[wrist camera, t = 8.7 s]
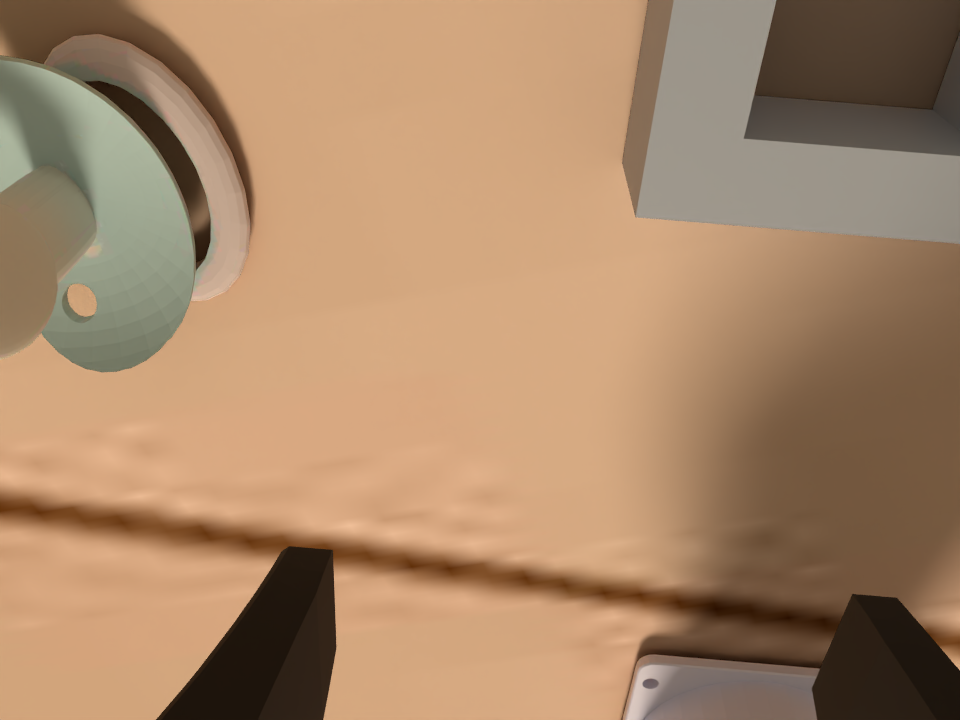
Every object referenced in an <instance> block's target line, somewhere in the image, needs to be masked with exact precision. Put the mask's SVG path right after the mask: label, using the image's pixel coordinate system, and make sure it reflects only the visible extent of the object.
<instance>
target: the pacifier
mask: <svg viewBox="0 0 960 720" xmlns="http://www.w3.org/2000/svg"><path fill="white" fill-rule="evenodd" d="M85 81H103V82H106V83H109V84H112V85H115V86H119V87H121V88H123V89H124V90H126V91H128V92H129V93H131V94H132V95H134V96H136V97H137V98H139V99H140V100H142V101H143V102H144V103H145V104H146V105H147V106H149V107H150V108H151V109H152V110H153V111H154V112H155V113H156V114H157V115H158V116H159V117H160V118H161V119H163V121H164V122H165V123H166V124H167V125H168V127H169V128H170V129H171V130H172V132H173V133H174V134H175V136H176V137H177V138H178V139H179V141H180V142H181V143H182V145H183V147H184V148H185V150H186V152H187V154H188V155H189V157H190V159H191V161H192V162H193V164H194V166H195V168H196V170H197V172H198V175H199V178H200V180H201V183H202V186H203V188H204V191H205V193H206V197H207V202H208V207H209V212H210V218H211V241H210V245H209V248H208V252H207V255H206V257H205V258H204V259H203V260H201V261H199V262H197V263H196V253H195V241H194V235H193V230H192V225H191V221H190V216H189V212H188V209H187V206H186V203H185V201H184V198H183V196H182V193H181V191H180V189H179V186H178V184H177V182H176V180H175V178H174V176H173V174H172V172H171V170H170V169H169V167H168V165H167V163H166V162H165V160H164V158H163V157H162V155H161V154H160V152H159V151H158V149H157V148H156V147H155V145H154V144H153V143H152V142H151V140H150V139H149V138H148V137H147V135H146V134H145V133H144V132H143V131H142V130H141V129H140V127H139V126H138V125H137V124H136V123H135V122H134V121H133V119H132V118H131V117H129V116H128V115H127V114H126V113H125V112H124V111H122V110H121V109H120V108H119V107H118V106H117V105H116V104H114V103H113V102H112V101H111V100H110V99H108V98H107V97H106V96H105V95H103V94H102V93H100V92H99V91H97V90H95V89H94V88H92V87H91V86H89V85H88V84H86V83H84V82H85ZM249 239H250V218H249V212H248V206H247V199H246V193H245V188H244V185H243V182H242V180H241V177H240V174H239V171H238V168H237V166H236V163H235V160H234V157H233V154H232V152H231V150H230V149H229V147H228V145H227V143H226V141H225V139H224V138H223V136H222V134H221V132H220V130H219V128H218V127H217V125H216V123H215V121H214V119H213V118H212V117H211V116H210V114H209V113H208V112H207V110H206V109H205V108H204V106H203V105H202V104H201V103H200V101H199V100H198V99H197V97H196V96H195V95H194V93H193V92H192V91H191V89H190V88H189V87H188V86H187V85H185V84H184V83H183V82H182V81H181V80H180V79H179V78H178V77H177V76H176V75H175V74H174V73H173V72H172V71H170V70H169V69H168V68H167V67H166V66H165V65H164V64H163V63H162V62H160V61H159V60H157V59H155V58H154V57H152V56H151V55H149V54H147V53H146V52H144V51H142V50H141V49H139V48H137V47H136V46H134V45H133V44H131V43H129V42H126V41H122V40H119V39H115V38H112V37H109V36H105V35H102V34H92V35H79V36H72V37H71V38H69V39H68V40H66V41H64V42H63V43H61V44H59V45H58V46H56V47H54V48H53V49H52V51H51V52H50V54H49V56H48V57H47V59H46V61H45V62H44V64H41V63H37V62H34V61H30V60H26V59H19V58H14V57H8V56H2V55H0V360H1V359H5V358H8V357H10V356H12V355H15V354H17V353H19V352H20V351H22V350H23V349H25V348H26V347H28V346H29V345H30V344H31V343H32V342H33V341H34V340H35V339H36V338H37V337H38V336H39V335H40V334H41V333H42V335H43V336H44V338H45V339H46V340H47V341H48V342H49V343H50V344H51V345H52V346H53V347H54V348H55V349H56V350H57V351H58V352H59V353H60V354H62V355H63V356H64V357H66V358H67V359H68V360H70V361H71V362H72V363H75V364H77V365H79V366H81V367H83V368H85V369H89V370H94V371H99V372H117V371H120V370H124V369H128V368H132V367H134V366H136V365H138V364H140V363H142V362H144V361H146V360H147V359H149V358H150V357H151V356H152V355H154V354H155V353H156V352H158V351H159V350H160V349H161V348H162V347H163V345H164V344H165V343H166V342H167V341H168V340H169V339H170V338H171V337H172V336H173V334H174V333H175V331H176V330H177V328H178V327H179V325H180V324H181V322H182V320H183V318H184V316H185V314H186V311H187V309H188V306H189V303H190V301H200V300H209V299H211V298H213V297H215V296H218V295H220V294H222V293H224V292H226V291H227V290H228V289H229V288H230V287H231V286H232V284H233V283H234V282H235V281H236V280H237V279H238V277H239V276H240V275H241V272H242V270H243V267H244V264H245V261H246V258H247V256H248V253H249ZM72 284H83V285H85V286H87V287H89V288H90V289H91V290H92V292H93V293H94V295H95V297H96V301H97V309H96V312H95V314H94V315H92V316H88V317H84V316H80V315H78V314H77V313H75V312H74V311H73V309H72V308H71V307H70V305H69V303H68V298H67V292H68V288H69V286H70V285H72Z"/></svg>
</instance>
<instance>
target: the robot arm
mask: <svg viewBox="0 0 960 720" xmlns="http://www.w3.org/2000/svg"><path fill="white" fill-rule="evenodd" d="M335 652H336V624H335V598H334V571H333V550H326V549H314V548H302V547H291V546H289V547H288V548H286V549H285V550H283V551H282V552H281V553H280V555H279V557H278V558H277V560H276V562H275V563H274V565H273V567H272V568H271V570H270V571H269V573H268V574H267V576H266V577H265V579H264V581H263V582H262V584H261V585H260V587H259V588H258V590H257V591H256V593H255V594H254V595H253V597H252V598H251V600H250V601H249V603H248V604H247V605H246V607H245V608H244V610H243V611H242V612H241V614H240V615H239V617H238V618H237V619H236V621H235V622H234V624H233V625H232V626H231V628H230V629H229V630H228V632H227V633H226V634H225V636H224V637H223V638H222V640H221V641H220V642H219V643H218V645H217V646H216V647H215V649H214V650H213V651H212V653H211V654H210V655H209V656H208V658H207V659H206V660H205V662H204V663H203V664H202V666H201V667H200V668H199V669H198V671H197V672H196V673H195V674H194V676H193V677H192V678H191V679H190V681H189V682H188V683H187V684H186V685H185V687H184V688H183V689H182V690H181V691H180V692H179V694H178V695H177V696H176V697H175V698H174V699H173V701H172V702H171V703H170V704H169V705H168V706H167V708H166V709H165V710H164V711H163V712H162V713H161V715H160V716H159V717H158V718H157V719H156V720H323V718H324V712H325V707H326V702H327V697H328V691H329V686H330V680H331V675H332V669H333V664H334V658H335ZM622 720H960V670H959V669H958V668H957V667H956V666H955V665H954V663H953V662H952V661H951V660H950V659H949V658H948V656H947V655H946V654H945V653H944V652H943V651H942V649H941V648H940V647H939V646H938V645H937V644H936V642H935V641H934V640H933V639H932V638H931V637H930V635H929V634H928V633H927V632H926V631H925V630H924V628H923V627H922V626H921V625H920V624H919V623H918V621H917V620H916V619H915V618H914V617H913V616H912V615H911V613H910V612H909V611H908V610H907V609H906V608H905V607H904V606H903V604H902V603H901V602H900V601H899V600H898V599H897V598H892V597H880V596H868V595H856V594H852V596H851V599H850V601H849V603H848V606H847V608H846V610H845V612H844V615H843V617H842V619H841V622H840V624H839V626H838V629H837V631H836V633H835V636H834V638H833V640H832V642H831V645H830V647H829V649H828V652H827V654H826V656H825V659H824V661H823V663H822V666H821V668H808V667H796V666H785V665H773V664H761V663H750V662H738V661H726V660H715V659H703V658H691V657H680V656H668V655H656V654H651V655H646V656H643V657H642V658H640V659H639V660H638V662H637V664H636V668H635V672H634V676H633V680H632V684H631V688H630V691H629V695H628V699H627V703H626V707H625V711H624V715H623V719H622Z"/></svg>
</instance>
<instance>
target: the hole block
mask: <svg viewBox="0 0 960 720" xmlns="http://www.w3.org/2000/svg"><path fill="white" fill-rule="evenodd" d="M775 4H776V0H648V6H647V12H646V18H645V25H644V31H643V37H642V43H641V50H640V56H639V62H638V68H637V74H636V81H635V87H634V93H633V99H632V105H631V112H630V118H629V124H628V130H627V136H626V143H625V149H624V155H623V161H622V164H623V168H624V172H625V176H626V180H627V184H628V188H629V192H630V196H631V201H632V205H633V209H634V213H635V217H638V218H650V219H663V220H675V221H687V222H699V223H712V224H724V225H736V226H748V227H760V228H773V229H785V230H797V231H809V232H821V233H834V234H846V235H858V236H870V237H883V238H895V239H907V240H919V241H931V242H944V243H956V244H960V33H959V35H958V38H957V41H956V44H955V47H954V50H953V52H952V55H951V58H950V61H949V64H948V67H947V70H946V72H945V75H944V78H943V81H942V84H941V87H940V89H939V92H938V95H937V98H936V101H935V104H934V107H933V109H932V110H930V109H917V108H905V107H893V106H880V105H868V104H855V103H843V102H831V101H818V100H806V99H794V98H781V97H769V96H756V95H754V93H755V89H756V85H757V80H758V76H759V72H760V68H761V63H762V59H763V55H764V51H765V46H766V42H767V38H768V34H769V30H770V25H771V21H772V17H773V13H774V8H775Z"/></svg>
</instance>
